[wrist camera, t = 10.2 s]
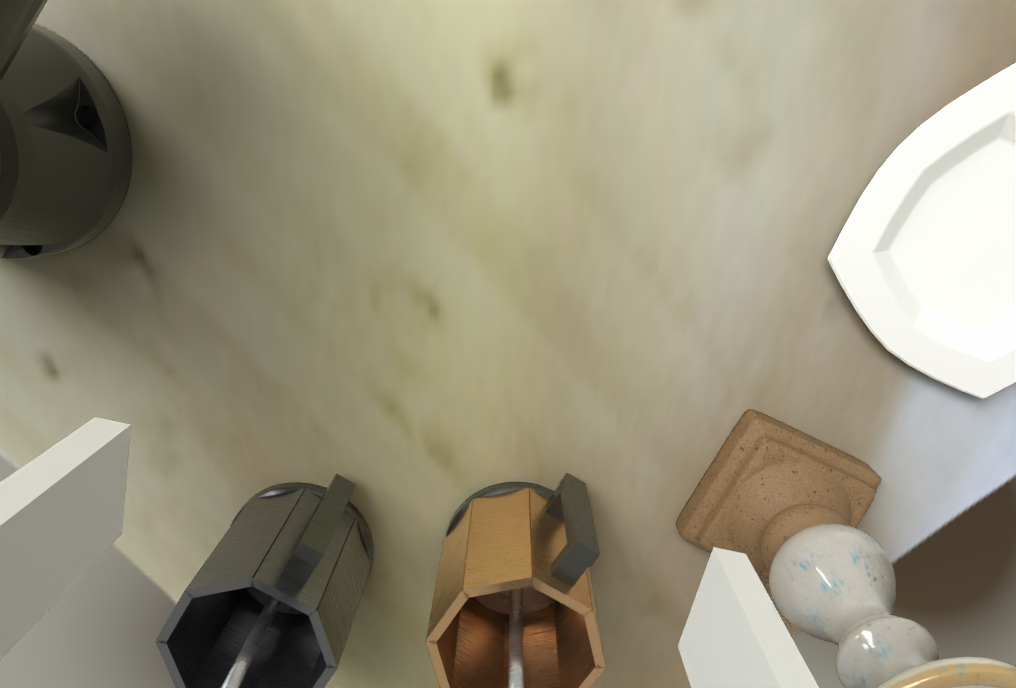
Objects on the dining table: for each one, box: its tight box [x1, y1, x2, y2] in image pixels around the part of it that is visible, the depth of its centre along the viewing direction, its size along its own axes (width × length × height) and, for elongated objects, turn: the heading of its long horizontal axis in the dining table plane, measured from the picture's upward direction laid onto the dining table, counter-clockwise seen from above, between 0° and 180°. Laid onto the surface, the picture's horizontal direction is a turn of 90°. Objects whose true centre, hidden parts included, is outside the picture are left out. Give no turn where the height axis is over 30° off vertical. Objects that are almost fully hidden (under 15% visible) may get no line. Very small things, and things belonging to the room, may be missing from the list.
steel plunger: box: [221, 586, 303, 688], centre depth 45 cm, size 8×8×19 cm
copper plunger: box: [475, 586, 555, 688], centre depth 44 cm, size 8×8×19 cm
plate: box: [827, 63, 1016, 399], centre depth 48 cm, size 19×19×2 cm
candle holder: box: [676, 410, 1016, 688], centre depth 42 cm, size 11×11×24 cm
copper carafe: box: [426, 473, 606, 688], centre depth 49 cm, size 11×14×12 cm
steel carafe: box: [156, 474, 373, 688], centre depth 49 cm, size 11×14×12 cm
